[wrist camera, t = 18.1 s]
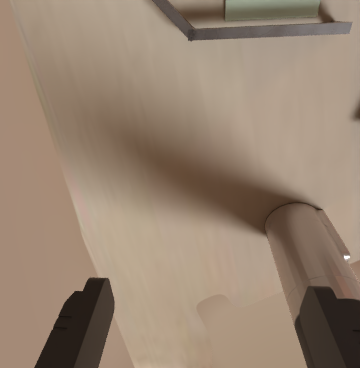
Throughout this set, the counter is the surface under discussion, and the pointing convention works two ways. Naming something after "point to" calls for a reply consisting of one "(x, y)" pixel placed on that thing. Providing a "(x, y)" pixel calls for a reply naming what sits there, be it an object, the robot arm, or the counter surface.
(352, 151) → the counter surface
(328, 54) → the counter surface
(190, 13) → the counter surface
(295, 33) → the wire channel
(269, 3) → the mat
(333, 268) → the robot arm
